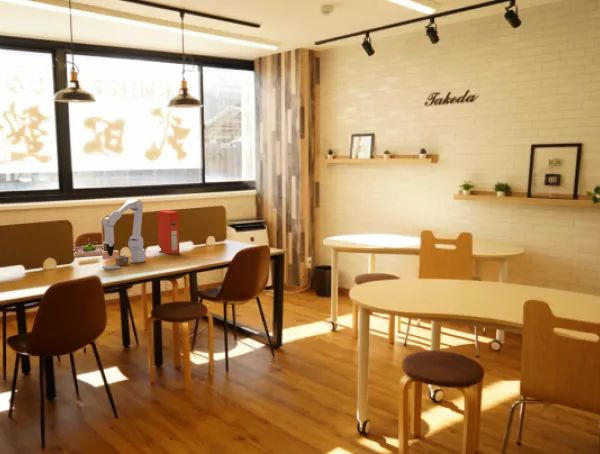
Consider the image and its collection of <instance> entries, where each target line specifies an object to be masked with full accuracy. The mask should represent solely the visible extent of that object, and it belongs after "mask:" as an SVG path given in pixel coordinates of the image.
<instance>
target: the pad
mask: <svg viewBox="0 0 600 454" xmlns="http://www.w3.org/2000/svg"><path fill="white" fill-rule="evenodd" d="M102 268H103V270H104V271H112V269H114V270H122V267H121V266H119V265H117V264H114V265H113V264H112V265H105V266H102Z"/></svg>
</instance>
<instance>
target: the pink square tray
mask: <svg viewBox="0 0 600 454" xmlns="http://www.w3.org/2000/svg"><path fill="white" fill-rule="evenodd" d="M96 245H97V246H96V247H98V248H102V247H103V245H104V244H100V245H98V244H96ZM84 246H86V245H82V246H73V247H74V249H75V257H74V258H79V257H91V256H92V257H93V256H102V251H91V252H78V253H77V250H78V249H85V247H84ZM86 247H87V246H86Z"/></svg>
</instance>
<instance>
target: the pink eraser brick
mask: <svg viewBox="0 0 600 454" xmlns="http://www.w3.org/2000/svg"><path fill="white" fill-rule="evenodd" d="M119 253H120V252H119V250H113V254H112V256H109V255H108V251H102V255H101V257H102V258H101V259H102V260H113V259H114V260H116V259H118V258H119V256H120V255H119Z"/></svg>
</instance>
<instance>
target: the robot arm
mask: <svg viewBox="0 0 600 454" xmlns="http://www.w3.org/2000/svg"><path fill="white" fill-rule="evenodd" d="M143 204H144V203H143V202H142V200H140V199H131V198H129V199H127V200H126V201H125V203H124V204H123V205H121V207H120V208H119V209H117V210H113V211H112V213H111V214H108V216H106V217H104V218H103V219H102V221H101V223H102V225H103V229H104V241H103V242H102V244H104V245H105V247H106V249H107V251H108V255H109V256H112V254H113V251H114V249H115V247H116V245H114V244H115V234H114V233H115V231H114V226H115V224H116V222H117V221H118V220H119V219H121V218H122V215H123V214H124V213H126V212H127V211H129V210H131V211H132V212H133V213H134V216H133V225H132V226H133V227H132V234H131V236H130V237H129V239H128V242H127V245H128V248H129V249H130V259H129V261H130V263H133V264H134V263H144V262H146V251H145V248H144V246H145V245H144V238H143V237H142V235H141V234H142V224H143V211H144V209H143V207H144V206H143Z"/></svg>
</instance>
